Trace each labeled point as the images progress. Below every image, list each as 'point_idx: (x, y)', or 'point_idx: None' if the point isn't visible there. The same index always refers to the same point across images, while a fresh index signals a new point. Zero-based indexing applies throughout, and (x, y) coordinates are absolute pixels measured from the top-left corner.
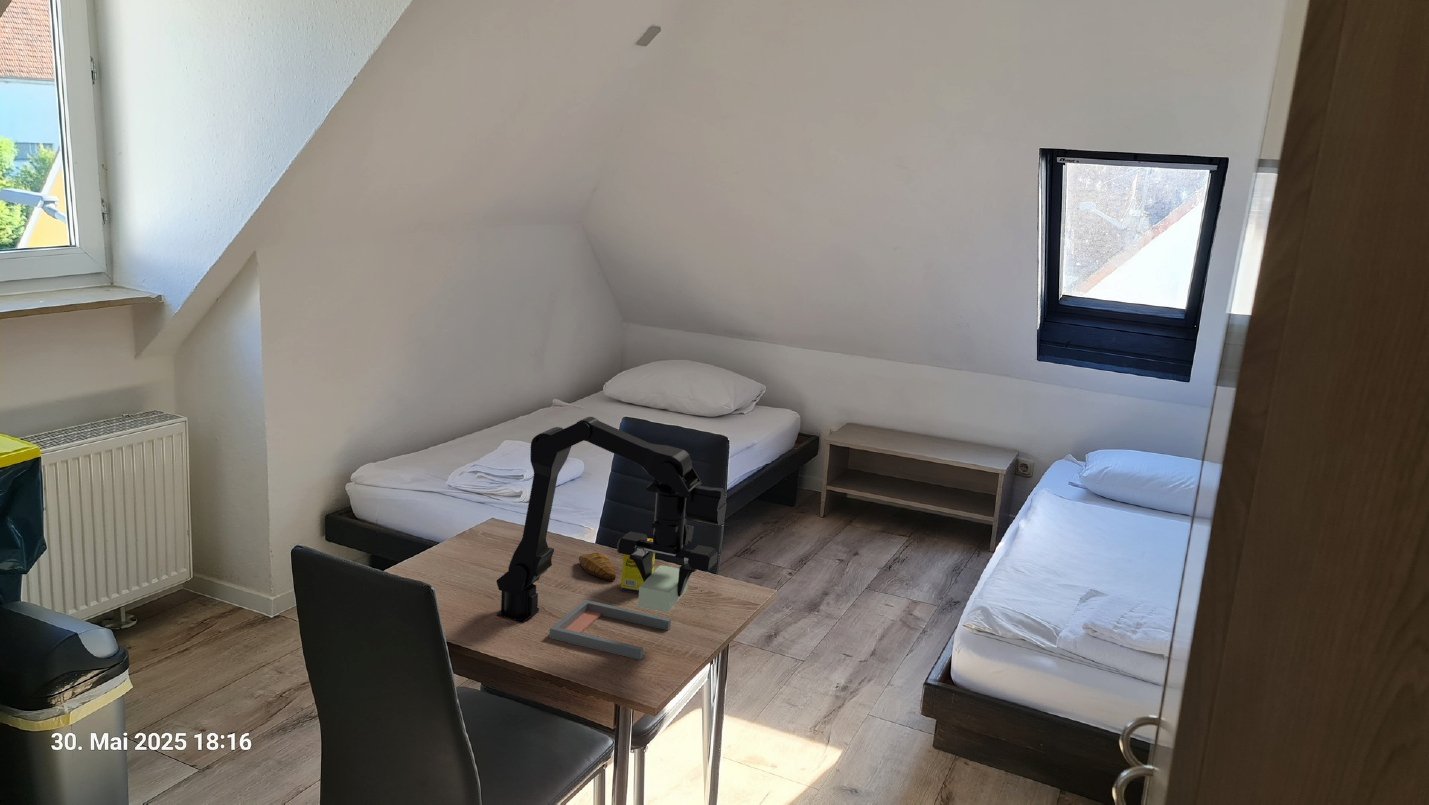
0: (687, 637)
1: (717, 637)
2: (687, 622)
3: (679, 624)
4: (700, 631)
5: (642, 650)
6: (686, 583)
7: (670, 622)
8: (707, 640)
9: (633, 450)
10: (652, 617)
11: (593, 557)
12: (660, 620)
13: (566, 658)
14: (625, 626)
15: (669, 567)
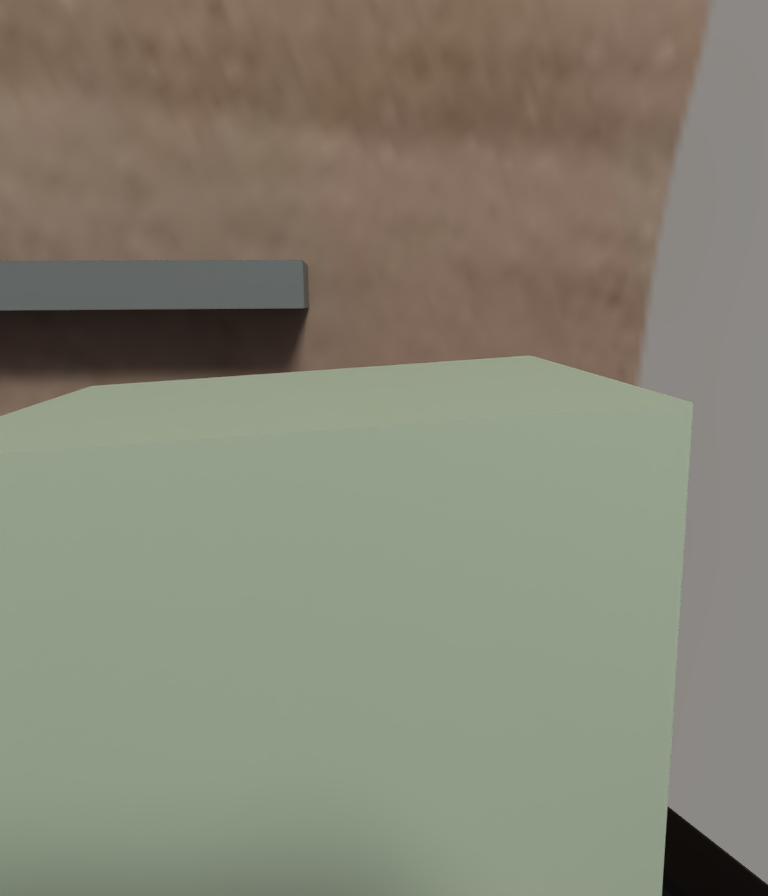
0: (462, 338)
1: (643, 237)
2: (379, 100)
3: (340, 166)
4: (512, 204)
5: None
6: (740, 871)
7: (304, 265)
8: (593, 314)
9: None
10: (165, 308)
11: None
12: (237, 308)
13: None
14: (28, 390)
15: (160, 487)
